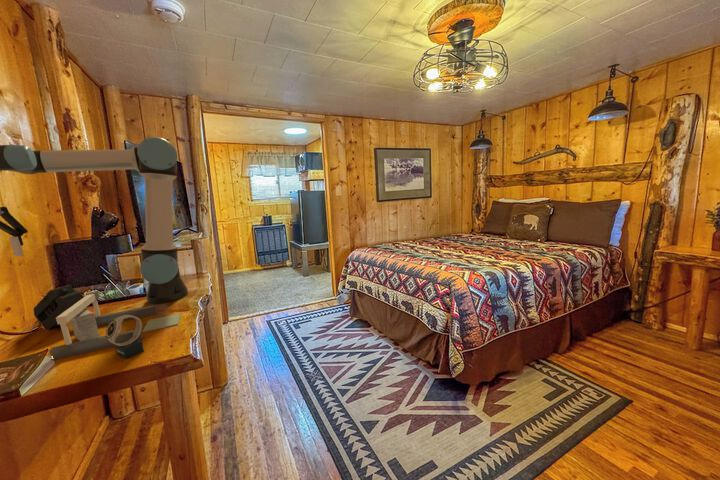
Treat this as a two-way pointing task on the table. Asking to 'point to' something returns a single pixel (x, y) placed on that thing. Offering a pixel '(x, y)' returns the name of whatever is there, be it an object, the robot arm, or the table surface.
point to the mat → (162, 322)
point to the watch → (127, 346)
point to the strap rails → (103, 341)
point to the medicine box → (85, 326)
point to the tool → (55, 305)
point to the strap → (76, 309)
